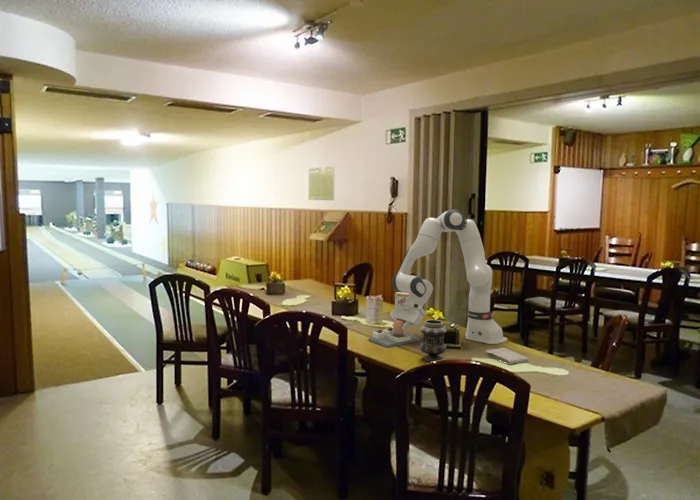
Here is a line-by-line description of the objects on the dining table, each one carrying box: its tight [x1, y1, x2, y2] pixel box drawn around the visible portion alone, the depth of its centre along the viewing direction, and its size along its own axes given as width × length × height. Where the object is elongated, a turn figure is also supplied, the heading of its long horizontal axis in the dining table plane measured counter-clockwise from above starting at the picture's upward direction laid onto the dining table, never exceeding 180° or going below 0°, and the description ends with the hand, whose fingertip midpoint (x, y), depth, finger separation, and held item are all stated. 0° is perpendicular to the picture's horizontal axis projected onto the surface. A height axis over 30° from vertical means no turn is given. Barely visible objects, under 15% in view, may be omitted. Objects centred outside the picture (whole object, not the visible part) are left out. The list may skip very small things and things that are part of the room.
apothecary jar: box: [419, 318, 448, 363], centre depth 231 cm, size 12×12×18 cm
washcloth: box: [484, 347, 529, 365], centre depth 233 cm, size 12×18×3 cm, turn 25°
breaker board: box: [367, 327, 421, 349], centre depth 262 cm, size 16×22×6 cm
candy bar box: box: [394, 291, 410, 308], centre depth 307 cm, size 11×5×16 cm, turn 58°
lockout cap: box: [393, 319, 405, 338], centre depth 259 cm, size 5×5×9 cm
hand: (397, 328), depth 259 cm, fingers closed on lockout cap, 5 cm apart
